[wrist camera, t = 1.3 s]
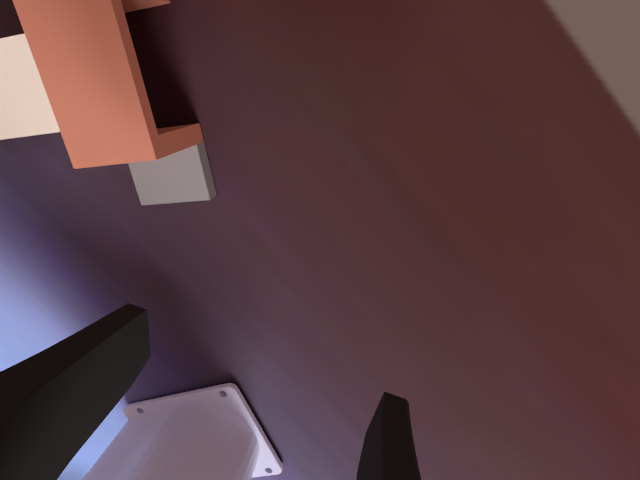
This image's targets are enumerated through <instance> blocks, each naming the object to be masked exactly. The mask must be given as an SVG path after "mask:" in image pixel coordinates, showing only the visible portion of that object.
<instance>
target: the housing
mask: <svg viewBox="0 0 640 480" xmlns="http://www.w3.org/2000/svg"><path fill="white" fill-rule="evenodd" d="M13 3H14V6H15V9H16V11H17V14H18V17H19V20H20V22H21V25H22V28H23V31H24V33H25V36H26V39H27V42H28V44H29V47H30V50H31V53H32V55H33V58H34V61H35V63H36V66H37V69H38V72H39V74H40V77H41V80H42V83H43V85H44V88H45V91H46V94H47V96H48V99H49V102H50V105H51V107H52V110H53V113H54V116H55V118H56V121H57V124H58V126H59V129H60V132H61V135H62V137H63V140H64V143H65V146H66V148H67V151H68V154H69V157H70V159H71V162H72V165H73V168H74V169H78V168H87V167H96V166H106V165H115V164H124V163H128V164H129V167H130V171H131V174H132V177H133V180H134V183H135V187H136V190H137V193H138V196H139V199H140V203H141V205H153V204H165V203H178V202H190V201H203V200H211V199H212V198H214V197H215V196H216V190H215V186H214V182H213V178H212V174H211V169H210V165H209V161H208V157H207V153H206V148H205V144H204V140H203V136H202V132H201V127H200V123H197V124H189V125H181V126H174V127H166V128H158V129H156V125H155V121H154V118H153V114H152V111H151V107H150V103H149V100H148V96H147V93H146V89H145V86H144V82H143V78H142V75H141V71H140V68H139V64H138V60H137V57H136V53H135V50H134V46H133V42H132V39H131V35H130V32H129V28H128V24H127V21H126V17H125V14H124V13H126V12H131V11H136V10H141V9H146V8H151V7H155V6H160V5H165V4H170V3H171V2H170V0H13Z"/></svg>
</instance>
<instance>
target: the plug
mask: <svg viewBox="0 0 640 480" xmlns="http://www.w3.org/2000/svg"><path fill="white" fill-rule="evenodd" d="M55 132H60V129H59V126H58V124H57V121H56V118H55V116H54V113H53V110H52V107H51V105H50V102H49V99H48V96H47V94H46V91H45V88H44V85H43V83H42V80H41V77H40V74H39V72H38V69H37V66H36V63H35V61H34V58H33V55H32V53H31V50H30V47H29V44H28V42H27V39H26V36H25V33H24V34H20V35H15V36H10V37H5V38H0V140H3V139H11V138H18V137H26V136H33V135H41V134H48V133H55Z"/></svg>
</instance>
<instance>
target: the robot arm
mask: <svg viewBox="0 0 640 480" xmlns="http://www.w3.org/2000/svg"><path fill="white" fill-rule="evenodd" d="M149 357H150V344H149V331H148V317H147V310H146V309H143V308H140V307H137V306H134V305H132V304H129V303H128V304H126V305H124V306H123V307H121V308H119V309H117V310H115V311H114V312H112V313H110V314H108V315H107V316H105V317H103V318H101V319H100V320H98V321H96V322H94V323H93V324H91V325H89V326H87V327H85V328H84V329H82V330H80V331H78V332H77V333H75V334H73V335H71V336H69V337H67V338H66V339H64V340H62V341H60V342H58V343H56V344H55V345H53V346H51V347H49V348H47V349H45V350H43V351H41V352H40V353H38V354H36V355H34V356H32V357H30V358H28V359H26V360H24V361H22V362H20V363H18V364H16V365H14V366H12V367H10V368H8V369H5V370H3V371H1V372H0V480H57V479H58V477H59V476H60V474H61V473H62V472H63V470H64V469H65V467H66V466H67V465H68V464H69V462H70V461H71V460H72V458H73V457H74V456H75V454H76V453H77V452H78V451H79V449H80V448H81V447H82V446H83V445H84V443H85V442H86V441H87V440H88V439H89V437H90V436H91V435H92V434H93V432H94V431H95V430H96V429H97V428H98V426H99V425H100V424H101V423H102V421H103V420H104V419H105V418H106V417H107V415H108V414H109V413H110V412H111V410H112V409H113V408H114V407H115V405H116V404H117V403H118V402H119V401H120V399H121V398H122V397H123V396H124V394H125V393H126V392H127V391H128V389H129V388H130V387H131V385H132V384H133V382H134V381H135V379H136V378H137V376H138V375H139V373H140V372H141V370H142V368H143V367H144V365H145V363H146V362H147V360H148V359H149ZM223 391H224V392H223ZM225 392H226V393H225ZM123 412H124V414H125V416H126V417H127V418H128V422H127V423H126V424H125V426H124V427H123V428H122V430H121V431H120V432H119V433H118V435H117V436H116V437H115V439H114V440H113V441H112V442H111V444H110V445H109V446H108V448H107V449H106V450H105V451H104V453H103V454H102V455H101V457H100V458H99V459H98V460H97V462H96V463H95V464H94V466H93V467H92V468H91V469H90V471H89V472H88V473H87V475H86V476H85V477H84V478H83V480H251V477H260V476H268V475H276V474H280V473H281V472H282V469H283V465H282V463H281V461H280V459H279V458H278V456H277V454H276V452H275V451H274V449H273V447H272V445H271V444H270V442H269V440H268V439H267V437H266V435H265V433H264V432H263V430H262V428H261V426H260V425H259V423H258V421H257V419H256V418H255V416H254V414H253V413H252V411H251V409H250V407H249V406H248V404H247V402H246V400H245V399H244V397H243V395H242V393H241V392H240V390H239V388H238V387H237V386H236V385H235V384H233V383H226V384H221V385H216V386H212V387H207V388H202V389H198V390H193V391H188V392H183V393H179V394H174V395H169V396H164V397H160V398H155V399H150V400H145V401H141V402H136V403H131V404H128V405H126V407H125V408H124V409H123ZM357 480H421V476H420V472H419V468H418V463H417V458H416V452H415V447H414V441H413V435H412V429H411V421H410V413H409V403H408V402H407V400H406V399H404V398H401V397H398V396H395V395H392V394H389V393H386V392H384V394H383V396H382V398H381V400H380V403H379V405H378V407H377V409H376V412H375V414H374V416H373V418H372V420H371V423H370V425H369V427H368V429H367V432H366V435H365V439H364V444H363V448H362V453H361V457H360V462H359V467H358V472H357Z"/></svg>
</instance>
